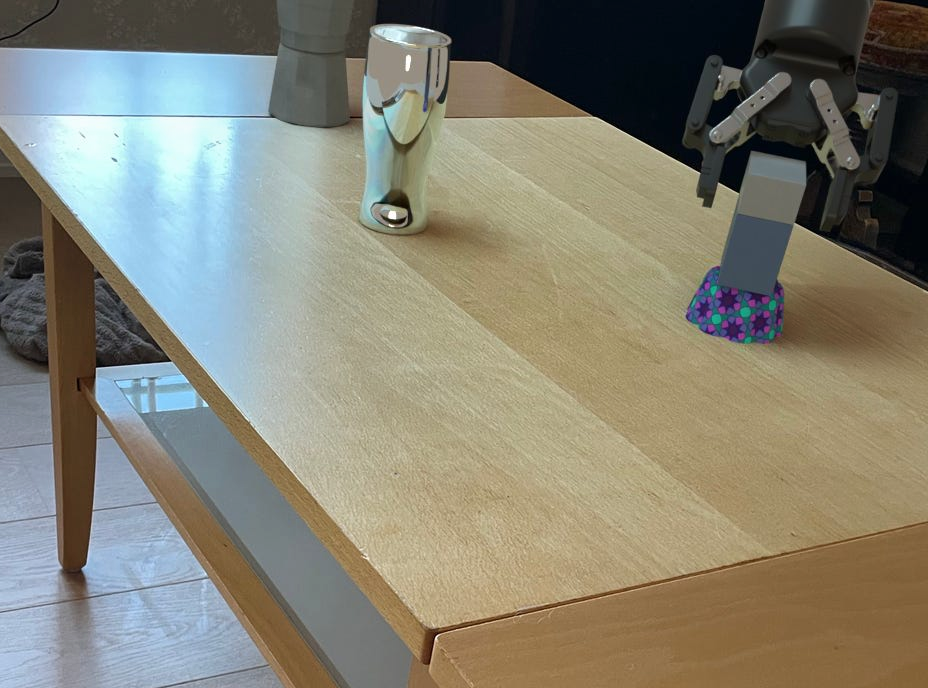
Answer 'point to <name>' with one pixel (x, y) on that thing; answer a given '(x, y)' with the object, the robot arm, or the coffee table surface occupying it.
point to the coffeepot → (312, 63)
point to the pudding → (736, 311)
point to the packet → (762, 223)
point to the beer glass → (401, 123)
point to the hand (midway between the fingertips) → (767, 214)
